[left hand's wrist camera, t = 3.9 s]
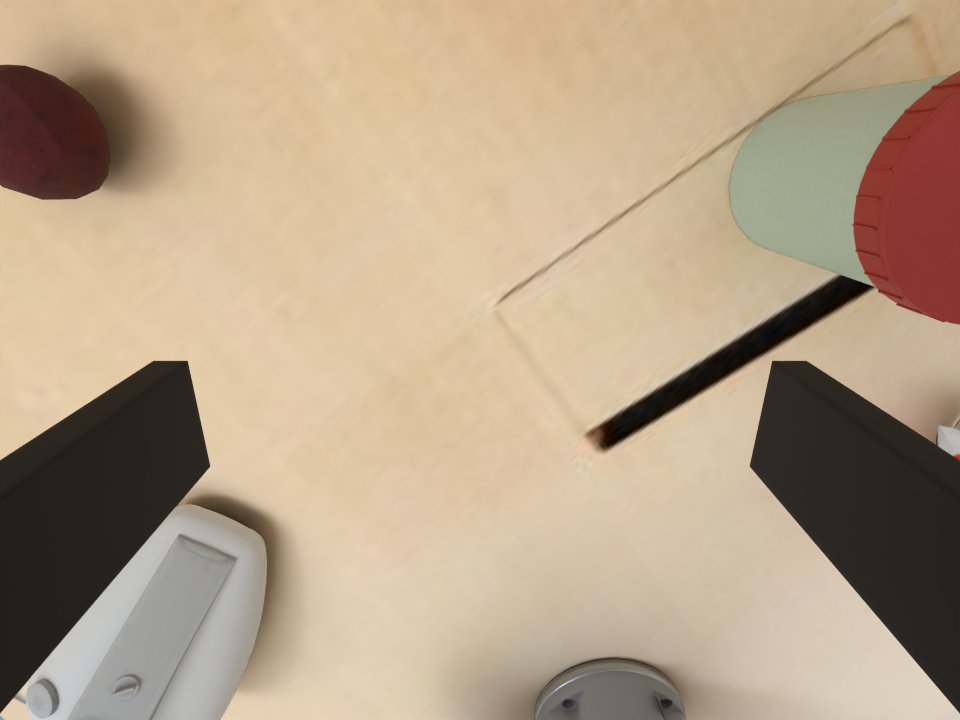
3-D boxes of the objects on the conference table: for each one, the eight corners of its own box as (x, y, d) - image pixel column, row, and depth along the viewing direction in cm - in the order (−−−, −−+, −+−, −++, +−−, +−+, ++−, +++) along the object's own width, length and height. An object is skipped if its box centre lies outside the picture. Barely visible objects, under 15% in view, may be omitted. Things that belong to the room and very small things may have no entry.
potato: (69, 48, 34) (-29, 24, 27) (159, 157, 36) (89, 159, 30) (-6, 119, 35) (-116, 112, 29) (85, 219, 38) (2, 234, 31)
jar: (903, 104, 35) (1199, 74, 21) (849, 259, 39) (1069, 324, 24) (752, 88, 35) (946, 45, 20) (712, 245, 39) (852, 303, 24)
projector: (342, 660, 53) (294, 834, 40) (139, 708, 56) (29, 887, 42) (241, 481, 46) (139, 621, 32) (10, 545, 48) (-174, 701, 35)
